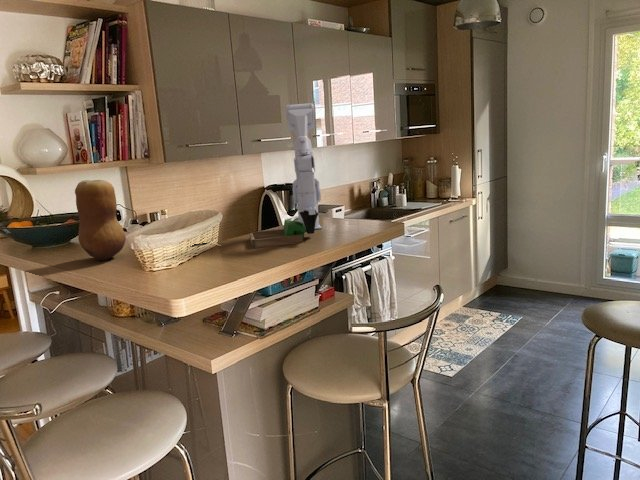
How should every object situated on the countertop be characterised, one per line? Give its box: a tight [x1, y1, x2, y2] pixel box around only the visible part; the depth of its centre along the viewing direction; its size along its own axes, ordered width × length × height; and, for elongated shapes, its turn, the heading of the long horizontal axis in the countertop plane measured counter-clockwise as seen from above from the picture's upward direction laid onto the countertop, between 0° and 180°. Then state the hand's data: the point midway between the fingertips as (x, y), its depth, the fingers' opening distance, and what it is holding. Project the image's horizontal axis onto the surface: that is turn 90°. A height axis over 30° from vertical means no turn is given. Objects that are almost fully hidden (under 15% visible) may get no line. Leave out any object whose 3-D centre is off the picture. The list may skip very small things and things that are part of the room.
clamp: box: [282, 219, 306, 240], centre depth 171 cm, size 12×6×9 cm, turn 3°
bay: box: [249, 228, 304, 249], centre depth 170 cm, size 14×16×2 cm
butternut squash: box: [74, 179, 126, 261], centre depth 161 cm, size 14×13×25 cm
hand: (310, 232), depth 172 cm, fingers closed, pressing on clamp
